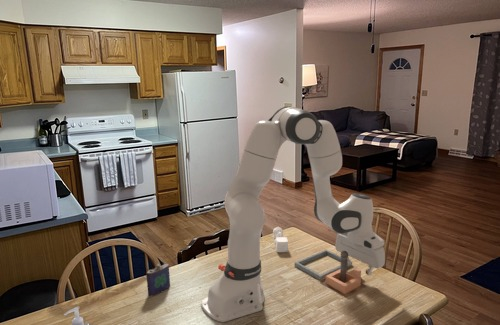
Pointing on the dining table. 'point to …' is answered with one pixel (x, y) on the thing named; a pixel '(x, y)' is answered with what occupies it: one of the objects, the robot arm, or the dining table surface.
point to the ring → (351, 277)
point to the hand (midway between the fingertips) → (357, 269)
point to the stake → (343, 276)
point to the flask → (158, 279)
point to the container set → (280, 240)
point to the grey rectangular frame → (312, 257)
